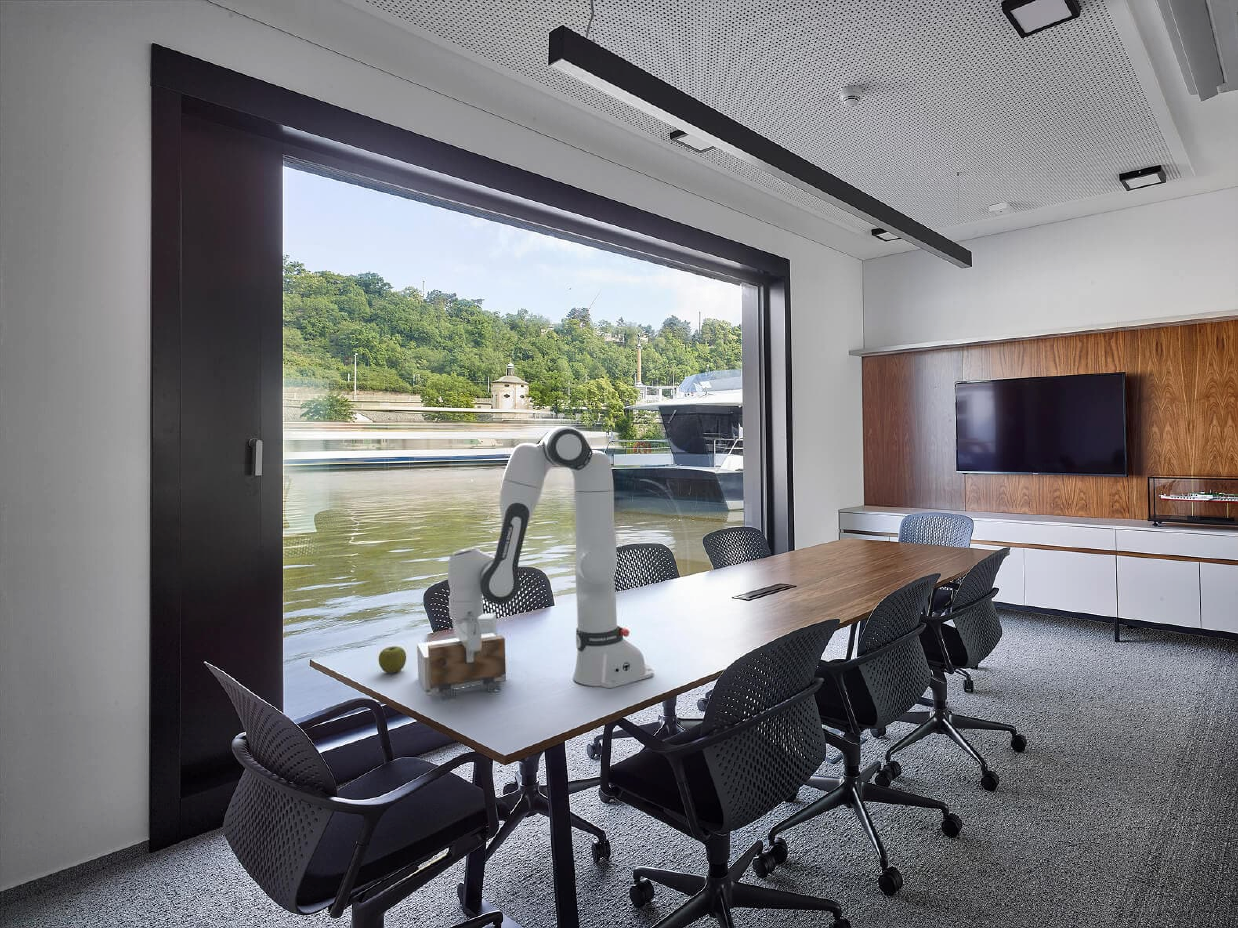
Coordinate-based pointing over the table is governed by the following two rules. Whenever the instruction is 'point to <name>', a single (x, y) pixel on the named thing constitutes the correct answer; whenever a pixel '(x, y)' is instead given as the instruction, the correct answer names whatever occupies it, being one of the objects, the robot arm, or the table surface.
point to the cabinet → (449, 688)
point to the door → (453, 666)
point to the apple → (392, 659)
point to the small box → (488, 623)
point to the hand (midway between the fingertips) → (468, 659)
